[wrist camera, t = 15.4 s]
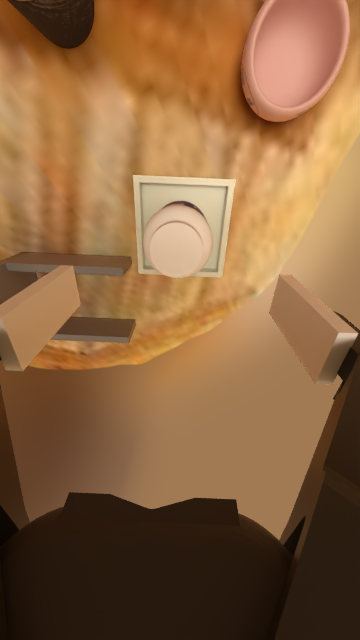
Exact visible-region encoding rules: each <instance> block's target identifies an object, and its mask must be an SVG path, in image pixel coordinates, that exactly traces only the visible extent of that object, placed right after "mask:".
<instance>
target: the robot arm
mask: <svg viewBox="0 0 360 640" xmlns="http://www.w3.org/2000/svg"><path fill="white" fill-rule="evenodd" d="M80 305H81V303H80V298H79V293H78V288H77V283H76V278H75V273H74V268H73V266H68V265H60V266H59V267H57V268H56V269H54V270H53V271H51V272H50V273H48V274H47V275H45V276H44V277H42V278H40V279H39V280H37V281H36V282H34V283H33V284H31V285H30V286H28V287H27V288H25V289H24V290H22V291H21V292H19V293H17V294H16V295H14V296H13V297H11V298H10V299H8V300H6V301H4V302H2V303H1V304H0V360H1V361H2V363H3V365H4V367H5V369H6V370H11V371H12V370H13V371H23V370H24V369H25V368H26V367H27V366H28V365H29V363H30V362H31V361H32V360H33V359H34V358H35V357H36V355H37V354H38V353H39V352H40V351H41V350H42V349H43V347H44V346H45V345H46V344H47V343H48V342H49V340H50V339H51V338H52V337H53V336H54V335H55V334H56V332H57V331H58V330H59V329H60V328H61V327H62V326H63V324H64V323H65V322H66V321H67V320H68V319H69V317H70V316H71V315H72V314H73V313H74V312H75V311H76V309H77V308H78V307H79V306H80ZM269 313H270V315H271V316H272V318H273V319H274V321H275V323H276V324H277V325H278V327H279V328H280V330H281V332H282V333H283V335H284V336H285V338H286V339H287V341H288V342H289V344H290V346H291V347H292V349H293V350H294V352H295V353H296V355H297V357H298V358H299V360H300V361H301V362H302V364H303V366H304V367H305V369H306V370H307V372H308V373H309V375H310V376H311V378H312V380H313V381H314V383H315V384H333V382H334V380H335V378H336V376H337V374H338V375H339V376H340V377H341V379H342V380H343V382H342V383H341V385H340V387H339V389H338V391H337V393H336V395H335V396H334V398H333V399H334V403H333V405H332V408H331V411H330V413H329V416H328V419H327V421H326V424H325V426H324V429H323V432H322V435H321V437H320V440H319V442H318V445H317V447H316V450H315V453H314V455H313V458H312V461H311V463H310V466H309V469H308V471H307V474H306V476H305V479H304V482H303V484H302V487H301V490H300V492H299V495H298V498H297V500H296V503H295V505H294V508H293V511H292V513H291V516H290V518H289V521H288V523H287V525H286V528H285V529H284V531H283V533H282V535H281V538H280V540H278V539H277V538H276V537H275V536H273V535H272V534H271V533H270V532H269V531H267V530H266V529H265V528H264V527H262V526H261V525H260V524H258V523H257V522H255V521H253V520H251V519H250V518H248V517H246V516H244V515H241V514H238V509H237V503H236V500H233V499H211V498H193V499H189V500H185V501H182V502H178V503H175V504H171V505H167V506H163V507H160V508H156V509H148V508H145V507H142V506H140V505H137V504H134V503H132V502H129V501H127V500H124V499H121V498H119V497H116V496H114V495H111V494H93V493H71V492H70V493H69V494H68V497H67V500H66V503H65V505H64V507H61V508H58V509H55V510H53V511H51V512H48V513H46V514H44V515H42V516H40V517H38V518H36V519H35V520H34V521H32V522H30V521H29V518H28V516H27V513H26V510H25V506H24V501H23V496H22V491H21V487H20V481H19V476H18V471H17V466H16V461H15V456H14V451H13V446H12V441H11V436H10V431H9V426H8V421H7V416H6V411H5V406H4V401H3V396H2V391H1V386H0V640H360V330H359V329H358V328H357V327H354V325H353V324H352V323H351V322H349V321H348V320H347V319H346V318H345V317H344V316H342V315H340V314H339V313H337V312H334V311H333V310H331V309H330V308H329V307H327V306H326V305H325V304H324V303H323V302H322V301H320V300H319V299H318V298H317V297H316V296H315V295H314V294H312V293H311V292H310V291H309V290H308V289H307V288H305V287H304V286H303V285H302V284H301V283H300V282H298V281H297V280H296V279H295V278H294V277H293V276H291V275H279V278H278V282H277V286H276V289H275V293H274V297H273V301H272V304H271V308H270V312H269Z"/></svg>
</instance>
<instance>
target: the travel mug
mask: <svg viewBox="0 0 360 640" xmlns="http://www.w3.org/2000/svg"><path fill="white" fill-rule="evenodd" d="M8 1H9V2H10V3H11V4H12V5H13V6H14V7H15V8H16V9H17V10H18V11H19V12H20V13H21V14H23V15H24V16H25V17H26V18H27V19H28V20H29V21H30V22H31V23H32V24H33V25H34V26H35V27H36V28H37V29H38V30H39V31H40V32H41V33H42V34H43V35H45V36H46V37H47V38H48V39H49V40H50V41H52V42H53V43H55V44H56V45H58V46H61V47H65V48H73V47H76V46H78V45H80V44H81V43H82V42H84V40H85V39H86V38H87V36H88V35H89V32H90V30H91V27H92V23H93V18H94V1H93V0H8Z"/></svg>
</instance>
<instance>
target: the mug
mask: <svg viewBox="0 0 360 640" xmlns="http://www.w3.org/2000/svg"><path fill="white" fill-rule="evenodd" d="M263 3H264V4H263V5H262V7H261V8H260V10H259V11H258V13H257V15H256V17H255V19H254V21H253V23H252V26H251V28H250V30H249V33H248V36H247V39H246V42H245V45H244V49H243V55H242V61H241V81H242V88H243V92H244V95H245V98H246V101H247V102H248V104H249V106H250V107H251V109H252V110H253V111H254V112H255V113H256V114H257V115H258V116H260V117H261V118H263V119H265V120H268V121H272V122H284V121H288V120H291V119H294V118H296V117H298V116H299V115H301V114H303V113H305V112H306V111H308V110H309V109H310V108H311V107H312V106H314V105H315V104H316V103H317V102H318V101H319V100H320V99H321V98H322V97H323V96H324V94H325V93H326V92H327V91H328V89H329V88H330V86H331V85H332V83H333V82H334V80H335V79H336V77H337V75H338V73H339V70H340V68H341V66H342V64H343V61H344V58H345V54H346V51H347V46H348V41H349V34H350V17H349V11H348V5H347V2H346V0H263Z"/></svg>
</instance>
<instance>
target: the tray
mask: <svg viewBox="0 0 360 640" xmlns="http://www.w3.org/2000/svg"><path fill="white" fill-rule="evenodd" d="M133 184H134V203H135V221H136V239H137V257H138V274H154V275H163V274H161V273H159V272H158V271H157V270H155V269H154V268H153V267H152V265H151V264H150V263H149V261H148V259H147V257H146V255H145V252H144V248H143V234H144V230H145V228H146V225H147V223H148V222H149V220H150V219H151V217H152V216H153V215H154V214H155V213H157V212H158V211H159V210H160V209H162V208H163V207H164V206H166V205H167V204H169V203H171V202H174V201H187V202H190V203H192V204H194V205H195V206H197V207H198V208H199V209H200V210H201V211H202V213H203V214H204V216H205V218H206V220H207V222H208V224H209V226H210V229H211V232H212V236H213V248H212V252H211V255H210V258H209V260H208V261H207V263H206V264H205V266H204V267H203V268H202V269H201V270H200V271H198V272H197V273H195V274H193V275H191V276H198V277H221V278H222V275H223V268H224V260H225V253H226V246H227V238H228V231H229V224H230V216H231V209H232V202H233V194H234V187H235V180H234V179H211V178H189V177H166V176H143V175H133Z"/></svg>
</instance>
